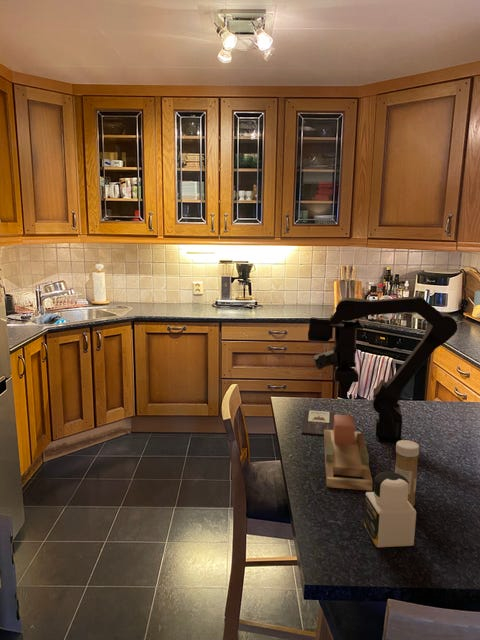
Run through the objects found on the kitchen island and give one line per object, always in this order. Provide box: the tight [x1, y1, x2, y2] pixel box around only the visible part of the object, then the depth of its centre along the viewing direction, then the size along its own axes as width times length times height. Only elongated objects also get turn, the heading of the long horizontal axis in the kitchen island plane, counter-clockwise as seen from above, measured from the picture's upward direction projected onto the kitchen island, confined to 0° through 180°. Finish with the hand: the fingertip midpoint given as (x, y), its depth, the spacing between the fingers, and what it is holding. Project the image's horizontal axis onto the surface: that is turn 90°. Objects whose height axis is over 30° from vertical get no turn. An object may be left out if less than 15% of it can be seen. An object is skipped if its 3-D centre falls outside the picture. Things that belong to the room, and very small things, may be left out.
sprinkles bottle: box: [394, 439, 420, 507], centre depth 100 cm, size 5×5×14 cm
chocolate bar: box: [301, 409, 335, 437], centre depth 144 cm, size 9×1×18 cm
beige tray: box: [323, 429, 374, 492], centre depth 120 cm, size 10×28×4 cm, turn 171°
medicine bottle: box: [363, 471, 417, 548], centre depth 89 cm, size 7×7×12 cm
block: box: [333, 413, 356, 445], centre depth 129 cm, size 5×8×5 cm, turn 171°
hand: (343, 396), depth 136 cm, fingers closed
